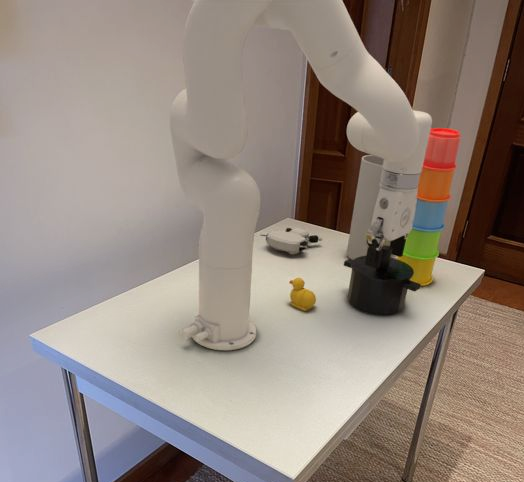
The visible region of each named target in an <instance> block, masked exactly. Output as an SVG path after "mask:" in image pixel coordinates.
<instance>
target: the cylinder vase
mask: <svg viewBox="0 0 524 482" xmlns="http://www.w3.org/2000/svg"><path fill="white" fill-rule="evenodd" d="M383 162H384V159H383V158H380V157H377V156H374V155H371V154H367V155H363V156H362V157H361V161H360V167H359V174H358V180H357V186H356V192H355V198H354V203H353V211H352V217H351V222H350V230H349V234H348V235H349V236H348V242H347V248H346V255H347V257H348V259H352V260H354V259H355V258H357V257H361V256H366V255H367V249H368V247H367V242H366V241H367V235H366V232H367V230H368V229H369V228H370V227H371V223H372V218H373V213H374V209H375V205H376V201H377V197H378V194H379V190H380V187H381V186H380V179H381V173H382V168H383ZM380 234H381V235H383V234H382V233H380ZM376 240H377V242H378V244H379V242H380V240H381V239H378V238H376ZM390 243H391V241H388V240H387V239H386V241H385V243H384V245H387V246H390ZM395 256H396V255H393V254H391V258H394V259H395Z"/></svg>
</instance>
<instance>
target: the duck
mask: <svg viewBox="0 0 524 482" xmlns="http://www.w3.org/2000/svg"><path fill="white" fill-rule="evenodd" d="M289 284H290V285H292V290H291V291H290V293H289V297H290V306H292V307H294V308H296V309H298V310H301V311H303V312H307V311H309V310H311V309H313V308H314V306H315V304H316V301H317V297H316V294H315V293H314V292H313V291H312V290H309V289H308V288H305V280H304V279H303V278H301V277H296V278H294V279H293V280H292V279H291V280H289Z"/></svg>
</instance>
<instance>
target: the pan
mask: <svg viewBox="0 0 524 482" xmlns="http://www.w3.org/2000/svg"><path fill="white" fill-rule="evenodd" d="M352 261H353V260H352V259H350V258H348V259H346V260H344V261H343V266H344V267H347V268H350V269H351V274H350V279H349V286H348V292H347V302H348V304H349V305H350V306H351V307H352V308H354V309H356V310H357V311H359V312H362V313H365V314H368V315H374V316H381V317H382V316H383V317H385V316H393V315H397V314H399V313H401V312H403V309H404V308H405V307H404V306H405V302H406V298H407V293H408V290H409V291H411V292H414V293H415V292H417V291H418V290H420V289H421V287H422V286H421V284H419V283H416V282H413V281H411V280H410V279H409V280H407V281H403V282H394V283H392V282H380V281H375V280H371V279H368V278H365V277H363V276H360V275H359V274H357V273H356V272H354V271H353V270H352V268H351V262H352Z"/></svg>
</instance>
